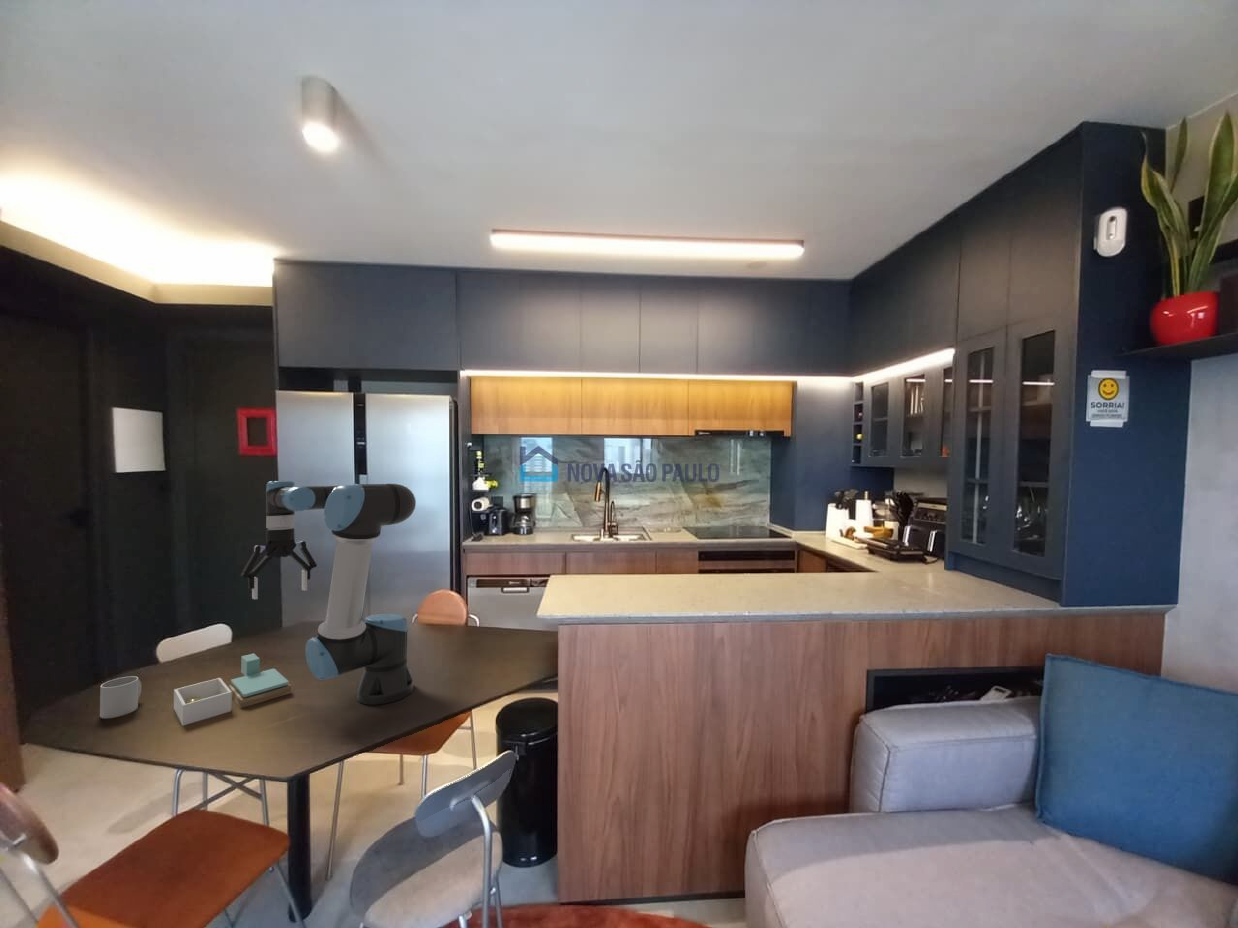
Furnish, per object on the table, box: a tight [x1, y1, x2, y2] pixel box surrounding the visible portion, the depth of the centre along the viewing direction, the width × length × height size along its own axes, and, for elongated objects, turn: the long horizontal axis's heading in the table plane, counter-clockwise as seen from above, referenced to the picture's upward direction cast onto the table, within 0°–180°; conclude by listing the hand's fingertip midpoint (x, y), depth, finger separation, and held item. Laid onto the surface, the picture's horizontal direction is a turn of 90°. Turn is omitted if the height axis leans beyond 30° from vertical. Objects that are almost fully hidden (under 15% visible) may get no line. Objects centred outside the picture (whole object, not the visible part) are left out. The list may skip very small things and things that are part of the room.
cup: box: [99, 675, 142, 719], centre depth 132 cm, size 7×10×9 cm
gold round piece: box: [187, 697, 200, 703], centre depth 133 cm, size 3×3×2 cm
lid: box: [230, 653, 290, 697], centre depth 144 cm, size 21×11×6 cm, turn 50°
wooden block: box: [228, 683, 292, 709], centre depth 142 cm, size 14×12×3 cm
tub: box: [173, 677, 233, 726], centre depth 132 cm, size 14×10×6 cm
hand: (280, 594), depth 154 cm, fingers open, 13 cm apart
